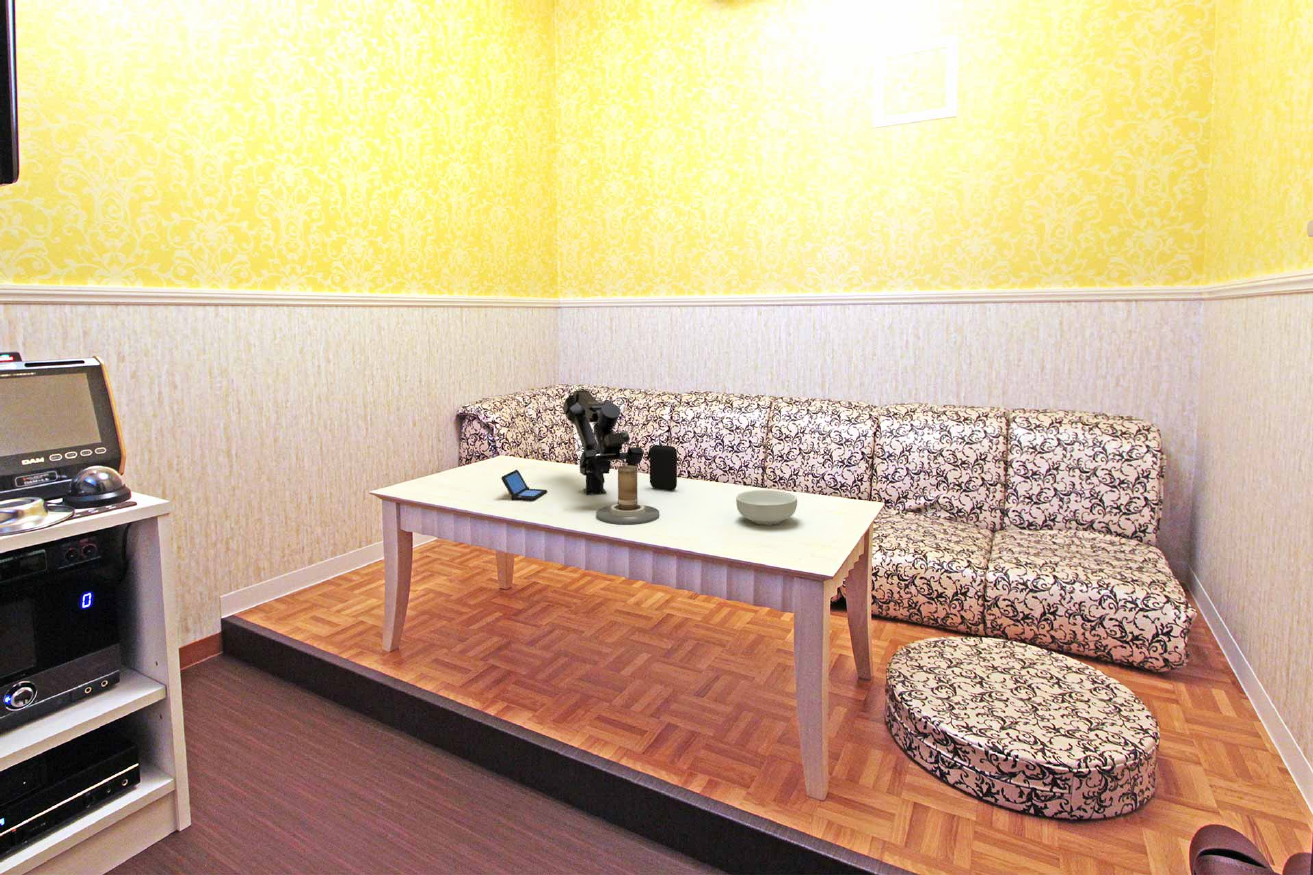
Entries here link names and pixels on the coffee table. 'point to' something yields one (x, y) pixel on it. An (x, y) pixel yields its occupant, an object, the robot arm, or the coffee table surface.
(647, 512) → the round tray
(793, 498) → the cereal bowl
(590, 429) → the robot arm
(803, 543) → the coffee table surface
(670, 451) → the black rounded block
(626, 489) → the brown cylindrical container
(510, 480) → the handheld game console
